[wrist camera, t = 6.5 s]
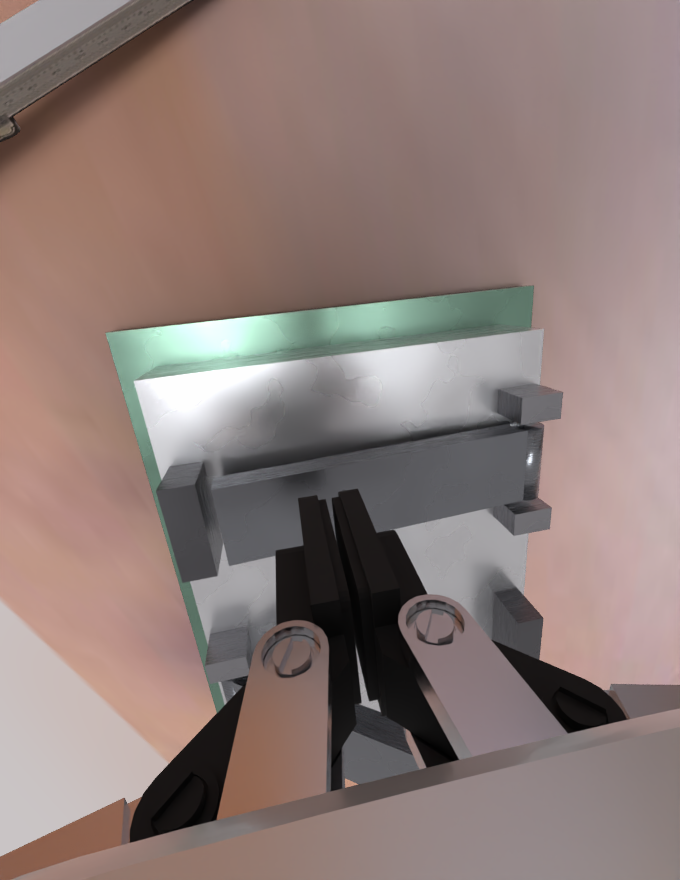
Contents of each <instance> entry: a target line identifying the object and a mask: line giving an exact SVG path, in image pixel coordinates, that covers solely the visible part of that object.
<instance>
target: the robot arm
mask: <svg viewBox="0 0 680 880" xmlns="http://www.w3.org/2000/svg"><path fill="white" fill-rule="evenodd" d="M298 504H299V512H300V520H301V529H302V537H303V546H298V547H292V548H286V549H280V550H276V554H275V559H276V626H275V627H273V628H271V629H270V630H269V631H268V632H266V633H265V634H264V635H263V636H262V638H261V639H260V640H259V641H258V643H257V645H256V647H255V650H254V652H253V656H252V661H251V666H250V670H249V675H248V679H247V682H246V683H245V684H244V685H243V686H242V687H241V689H240V690H239V691H238V692H237V693H236V694H235V695H234V696H233V697H232V698H231V699H230V700H229V701H228V702H227V703H226V704H225V705H224V706H223V708H222V709H221V710H220V711H219V712H218V713H217V714H216V715H215V716H214V717H213V718H212V719H211V720H210V721H209V722H208V723H207V724H206V725H205V726H204V728H203V729H202V730H201V731H200V732H199V733H198V734H197V735H196V736H195V737H194V738H193V739H192V740H191V741H190V742H189V743H188V744H187V745H186V747H185V748H184V749H183V750H182V751H181V752H180V753H179V754H178V755H177V756H176V757H175V758H174V759H173V760H172V761H171V762H170V763H169V764H168V766H167V767H166V768H165V769H164V770H163V771H162V772H161V773H160V774H159V775H158V776H157V777H156V778H155V780H154V781H153V782H152V784H151V785H150V786H149V787H148V789H147V790H146V791H145V792H144V794H143V796H142V797H141V798H139V799H136V800H134V801H132V802H130V803H128V804H127V802H126V800H125V798H123V799H121V800H119V801H116V802H114V803H112V804H110V805H108V806H106V807H104V808H102V809H100V810H97V811H95V812H93V813H91V814H89V815H87V816H85V817H83V818H81V819H79V820H77V821H75V822H72V823H70V824H68V825H66V826H64V827H62V828H60V829H58V830H56V831H53V832H51V833H49V834H47V835H45V836H43V837H41V838H39V839H37V840H35V841H32V842H31V843H28V844H26V845H24V846H22V847H20V848H18V849H16V850H13V851H12V852H9V853H7V854H5V855H3V856H1V857H0V880H680V685H639V684H611V686H610V690H602V689H601V688H600V687H598V686H596V685H594V684H592V683H591V682H589V681H587V680H585V679H583V678H581V677H578V676H576V675H574V674H571V673H569V672H566V671H564V670H562V669H559V668H557V667H555V666H552V665H550V664H548V663H545V662H543V661H541V660H538V659H536V658H534V657H531V656H529V655H527V654H524V653H522V652H520V651H517V650H515V649H513V648H510V647H508V646H505V645H503V644H501V643H498V642H496V641H494V640H491V639H490V638H489V637H488V635H487V634H486V633H485V632H484V631H483V629H482V628H481V627H480V626H479V625H478V623H477V622H476V621H475V620H474V618H473V617H472V616H471V615H470V614H469V612H468V611H467V610H466V609H465V608H464V607H463V606H462V605H461V604H460V603H458V602H456V601H454V600H453V599H451V598H449V597H445V596H441V595H433V594H427V592H426V590H425V588H424V586H423V584H422V582H421V580H420V578H419V576H418V574H417V572H416V570H415V568H414V566H413V564H412V562H411V560H410V558H409V556H408V554H407V552H406V550H405V548H404V546H403V544H402V542H401V540H400V538H399V536H398V534H397V532H396V531H395V530H389V531H383V532H378V533H376V530H375V528H374V526H373V523H372V521H371V518H370V516H369V514H368V511H367V509H366V507H365V504H364V502H363V499H362V497H361V495H360V492H359V490H358V489H351V490H345V491H339V492H338V497H334V498H332V508H333V517H334V526H335V534H336V538H335V534H334V530H333V526H332V522H331V518H330V514H329V510H328V506H327V502H326V499H322V500H318V496H317V495H314V496H308V497H301V498H298ZM356 649H357V653H358V657H359V661H360V666H361V670H362V674H363V679H364V683H365V687H366V692H367V696H368V699H369V702H370V701H374V700H378V703H379V707H380V711H381V715H382V716H386V715H387V717H388V718H389V719H391V720H392V721H394V722H396V723H397V724H399V725H400V726H402V727H403V728H404V733H405V737H406V740H407V743H408V745H409V747H410V749H411V752H412V754H413V756H414V758H415V761H416V763H417V765H418V767H419V769H420V770H416V771H412V772H408V773H404V774H400V775H396V776H392V777H388V778H384V779H380V780H375V781H371V782H367V783H363V784H359V785H355V786H351V787H347V788H345V773H344V750H343V745H344V743H345V742H346V740H347V739H348V737H349V736H350V734H351V732H352V731H353V729H354V728H355V726H356V725H357V721H356V712H355V705H356V704H361V703H362V700H361V691H360V682H359V672H358V663H357V654H356Z"/></svg>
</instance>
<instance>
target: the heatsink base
mask: <svg viewBox="0 0 680 880" xmlns="http://www.w3.org/2000/svg"><path fill="white" fill-rule="evenodd" d="M533 290H534V286H518V287H509V288H500V289H491V290H482V291H473V292H464V293H454V294H445V295H436V296H427V297H418V298H409V299H400V300H391V301H382V302H373V303H364V304H355V305H346V306H336V307H327V308H318V309H309V310H300V311H291V312H282V313H273V314H264V315H255V316H246V317H237V318H228V319H219V320H209V321H200V322H191V323H182V324H173V325H164V326H155V327H146V328H137V329H128V330H119V331H112V332H107V333H106V336H107V340H108V343H109V346H110V350H111V353H112V357H113V360H114V363H115V367H116V370H117V374H118V377H119V380H120V384H121V387H122V391H123V394H124V398H125V401H126V404H127V408H128V411H129V415H130V418H131V421H132V425H133V428H134V432H135V435H136V438H137V442H138V445H139V449H140V452H141V455H142V459H143V462H144V466H145V469H146V473H147V476H148V479H149V483H150V486H151V490H152V493H153V496H154V500H155V503H156V507H157V510H158V513H159V517H160V520H161V524H162V527H163V530H164V534H165V537H166V541H167V544H168V548H169V551H170V554H171V558H172V561H173V565H174V568H175V571H176V575H177V578H178V582H179V585H180V588H181V592H182V595H183V599H184V602H185V605H186V609H187V612H188V616H189V619H190V622H191V626H192V629H193V633H194V636H195V640H196V643H197V646H198V650H199V653H200V657H201V660H202V663H203V667H204V670H205V674H206V677H207V680H208V684H209V687H210V691H211V694H212V697H213V701H214V704H215V708H216V711H217V713H218V712H219V711H220V710H221V709H222V708H223V706H224V705H225V704H226V703H227V702H226V698H225V695H224V691H223V687H222V684H221V681H226V680H230V679H235V678H239V677H243V676H248V675H249V670H250V666H251V661H252V656H253V652H254V650H255V647H256V645H257V643H258V641H259V640H260V639H261V638H262V636H263V635H264V634H265V633H266V632H268V631H269V630H270V629H271V628H273V627H275V626H276V559H275V556H272V557H268V558H264V559H259V560H255V561H250V562H246V563H241V564H237V565H232V566H229V564H228V560H227V556H226V551H225V547H224V543H223V539H222V534H221V530H220V526H219V522H218V517H217V513H216V509H215V505H214V500H213V496H212V492H211V487H212V481H213V478H214V477H220V476H225V475H231V474H236V473H242V472H247V471H253V470H258V469H264V468H269V467H274V466H280V465H285V464H291V463H296V462H302V461H307V460H313V459H318V458H324V457H329V456H335V455H340V454H346V453H351V452H357V451H362V450H368V449H373V448H379V447H384V446H390V445H395V444H400V443H406V442H411V441H417V440H422V439H428V438H433V437H439V436H444V435H450V434H455V433H461V432H466V431H472V430H477V429H483V428H488V427H494V426H499V425H505V424H510V423H513V422H516V423H518V424H520V425H522V424H529V423H535V422H541V421H548V420H554V419H560V418H561V408H562V398H563V392H561V391H557V390H554V389H551V388H548V387H545V386H542V385H540V376H541V363H542V350H543V337H544V329H539V328H531V321H532V306H533ZM551 510H552V508H551V507H550V506H549V505H547V504H546V503H545V502H543V501H542V500H540V499H539V498H538V497H537V498H536V499H534V500H528V501H524V500H523V501H518V502H514V503H509V504H505V505H501V506H496V507H492V508H487V509H483V510H478V511H474V512H469V513H465V514H460V515H456V516H451V517H447V518H442V519H438V520H433V521H429V522H425V523H420V524H416V525H411V526H407V527H402V528H398V529H393V530H395V531H396V532H397V534H398V536H399V538H400V540H401V542H402V544H403V546H404V548H405V550H406V552H407V554H408V556H409V558H410V560H411V562H412V564H413V566H414V568H415V570H416V572H417V574H418V576H419V578H420V580H421V582H422V584H423V586H424V588H425V590H426V592H427V594H433V595H441V596H445V597H449V598H451V599H453V600H454V601H456V602H458V603H460V604H461V605H462V606H463V607H464V608H465V609H466V610H467V611H468V612H469V614H470V615H471V616H472V617H473V618H474V620H475V621H476V622H477V623H478V625H479V626H480V627H481V628H482V629H483V631H484V632H485V633H486V634H487V635H488V637H489V638H490V639H491V640H494V641H496V642H498V643H501V644H503V645H505V646H508V647H510V648H513V649H515V650H517V651H520V652H522V653H524V654H527V655H529V656H531V657H534V658H536V659H538V660H539V657H540V647H541V637H542V627H543V617H542V616H541V615H540V614H539V612H538V611H537V610H536V609H535V608H534V607H533V606H532V604H531V603H530V602H529V601H528V600H527V599H526V598H525V596H524V585H525V572H526V559H527V545H528V533H531V532H536V531H541V530H546V529H550V520H551ZM356 654H357V663H358V672H359V682H360V691H361V700H362V703H361V704H360V705H363V706H366V707H368V708H371V709H374V710H376V711H379V712H381V711H380V707H379V703H378V700H374V701H370V702H369V699H368V696H367V692H366V687H365V683H364V679H363V674H362V670H361V666H360V661H359V657H358V653H357V649H356Z"/></svg>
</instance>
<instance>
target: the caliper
mask: <svg viewBox="0 0 680 880" xmlns="http://www.w3.org/2000/svg"><path fill="white" fill-rule="evenodd" d="M191 1H193V0H38V1H37V2H35V3H34V4H32V5H30V6H29V7H27V8H25V9H24V10H22V11H20V12H19V13H17V14H16V15H14V16H12V17H11V18H9V19H7V20H6V21H4V22H2V23H1V24H0V142H2V141H4V140H7V139H9V138H11V137H13V136H15V135H16V134H17V133H19V132H20V127H19V126H18V124H17V122H16V121H15V119H14V118H13V116H14V115H16V114H18V113H19V112H21V111H22V110H24V109H25V108H27V107H28V106H30V105H31V104H33V103H35V102H36V101H38V100H39V99H41V98H42V97H44V96H45V95H47V94H49V93H50V92H52V91H53V90H55V89H56V88H58V87H59V86H61V85H62V84H64V83H66V82H67V81H69V80H70V79H72V78H73V77H75V76H76V75H78V74H79V73H81V72H83V71H84V70H86V69H87V68H89V67H90V66H92V65H93V64H95V63H96V62H98V61H100V60H101V59H103V58H104V57H106V56H107V55H109V54H110V53H112V52H113V51H115V50H117V49H118V48H120V47H121V46H123V45H124V44H126V43H127V42H129V41H130V40H132V39H134V38H135V37H137V36H138V35H140V34H141V33H143V32H144V31H146V30H147V29H149V28H151V27H152V26H154V25H155V24H157V23H158V22H160V21H161V20H163V19H165V18H166V17H168V16H169V15H171V14H172V13H174V12H176V11H177V10H179V9H180V8H182V7H183V6H185V5H187V4H188V3H190V2H191Z"/></svg>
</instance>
